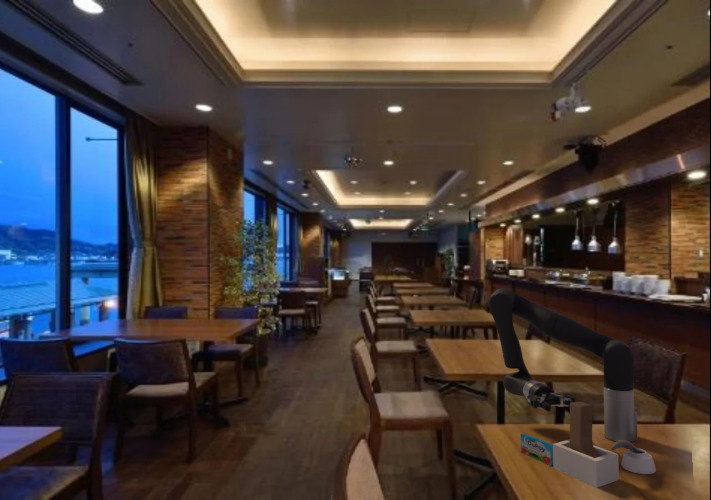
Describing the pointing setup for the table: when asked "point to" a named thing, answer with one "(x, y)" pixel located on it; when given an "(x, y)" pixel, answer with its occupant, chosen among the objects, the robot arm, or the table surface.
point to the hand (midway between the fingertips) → (562, 407)
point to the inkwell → (635, 458)
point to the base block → (586, 464)
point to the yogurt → (537, 449)
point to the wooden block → (581, 429)
